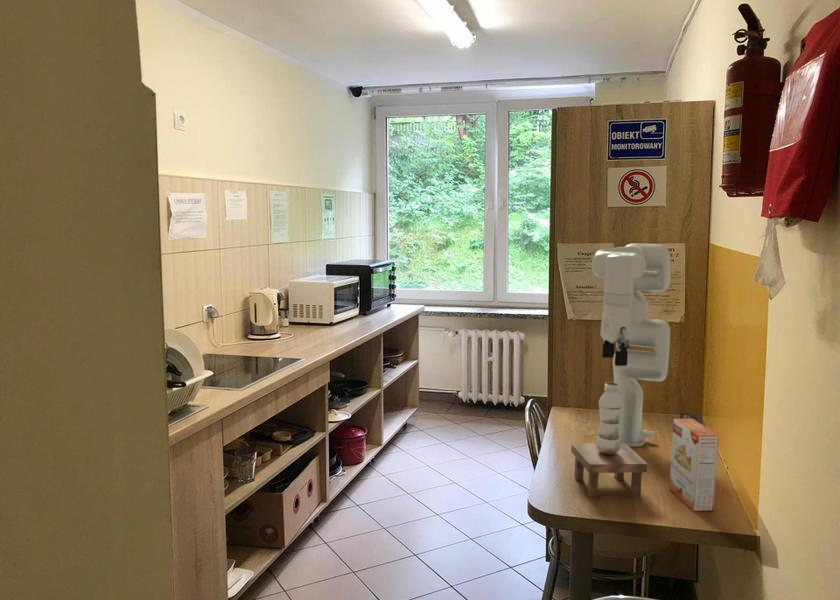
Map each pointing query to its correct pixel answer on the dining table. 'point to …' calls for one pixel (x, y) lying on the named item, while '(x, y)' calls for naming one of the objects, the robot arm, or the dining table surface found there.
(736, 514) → the dining table surface
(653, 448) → the dining table surface
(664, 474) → the dining table surface
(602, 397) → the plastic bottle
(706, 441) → the cracker box
